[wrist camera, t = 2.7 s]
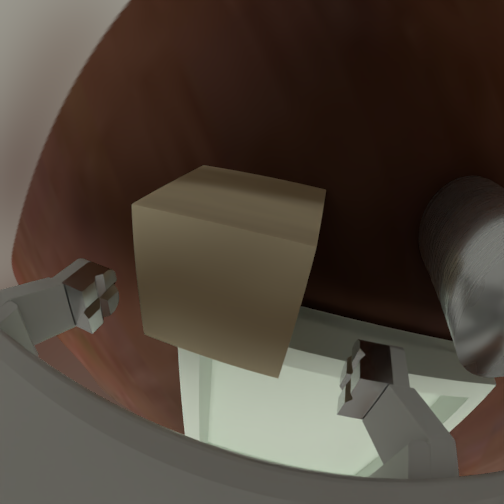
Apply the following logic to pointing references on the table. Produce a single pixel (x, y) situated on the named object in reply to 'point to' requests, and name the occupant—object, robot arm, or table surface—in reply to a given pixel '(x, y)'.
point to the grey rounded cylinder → (469, 268)
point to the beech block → (226, 263)
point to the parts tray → (316, 396)
